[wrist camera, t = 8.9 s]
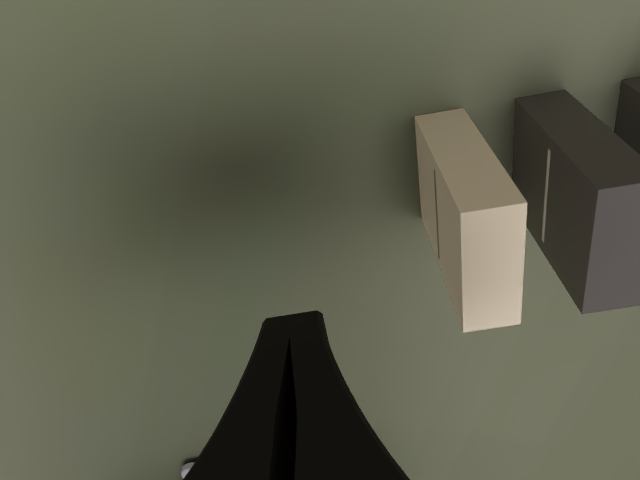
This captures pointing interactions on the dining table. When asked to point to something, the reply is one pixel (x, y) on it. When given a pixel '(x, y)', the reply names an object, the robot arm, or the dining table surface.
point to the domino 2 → (580, 199)
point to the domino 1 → (471, 220)
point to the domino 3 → (629, 113)
